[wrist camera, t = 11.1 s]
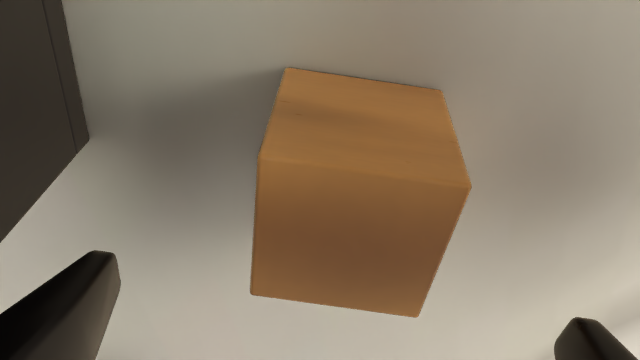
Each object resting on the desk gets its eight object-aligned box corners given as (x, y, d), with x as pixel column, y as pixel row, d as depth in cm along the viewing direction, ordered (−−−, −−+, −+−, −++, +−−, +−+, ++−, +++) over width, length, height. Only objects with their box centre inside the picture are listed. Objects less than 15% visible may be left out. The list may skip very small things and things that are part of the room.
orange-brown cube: (405, 208, 15) (418, 319, 12) (274, 190, 15) (249, 296, 11) (443, 89, 12) (473, 186, 9) (285, 65, 12) (256, 155, 9)
